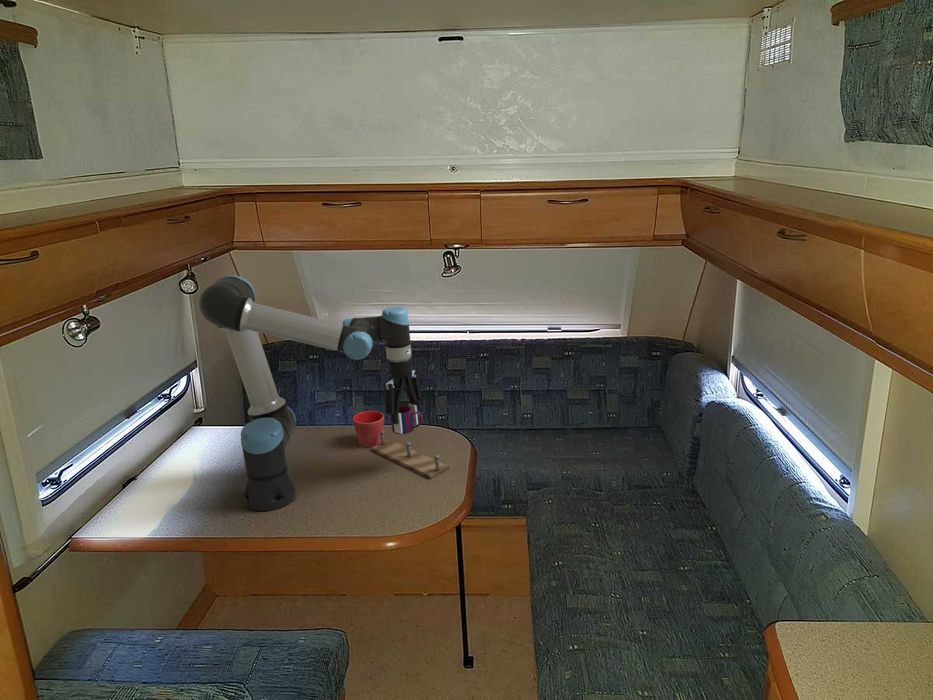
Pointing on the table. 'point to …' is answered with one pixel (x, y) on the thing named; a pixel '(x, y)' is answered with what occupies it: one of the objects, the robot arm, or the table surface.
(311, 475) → the table surface
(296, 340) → the robot arm
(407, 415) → the mug
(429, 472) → the rail
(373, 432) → the flower pot
